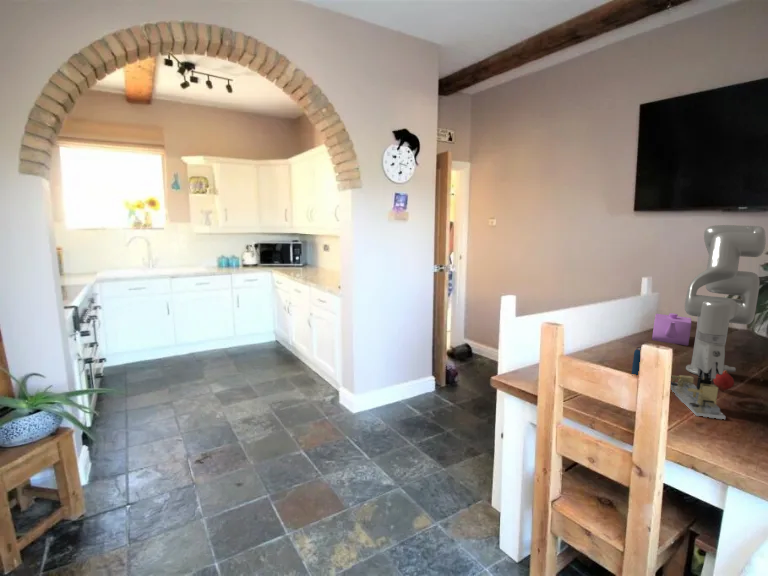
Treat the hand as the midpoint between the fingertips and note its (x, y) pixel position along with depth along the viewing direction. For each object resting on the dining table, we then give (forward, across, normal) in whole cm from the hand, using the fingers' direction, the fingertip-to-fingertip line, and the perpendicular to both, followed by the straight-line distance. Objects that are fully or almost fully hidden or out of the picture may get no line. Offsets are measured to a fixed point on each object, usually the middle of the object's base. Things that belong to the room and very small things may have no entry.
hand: (702, 389), depth 138 cm
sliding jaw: (+4, -4, +2) cm, 5 cm away
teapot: (+5, +82, -17) cm, 84 cm away
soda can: (+5, +20, +12) cm, 24 cm away
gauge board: (+5, +3, +1) cm, 6 cm away
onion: (+5, +16, -12) cm, 21 cm away
